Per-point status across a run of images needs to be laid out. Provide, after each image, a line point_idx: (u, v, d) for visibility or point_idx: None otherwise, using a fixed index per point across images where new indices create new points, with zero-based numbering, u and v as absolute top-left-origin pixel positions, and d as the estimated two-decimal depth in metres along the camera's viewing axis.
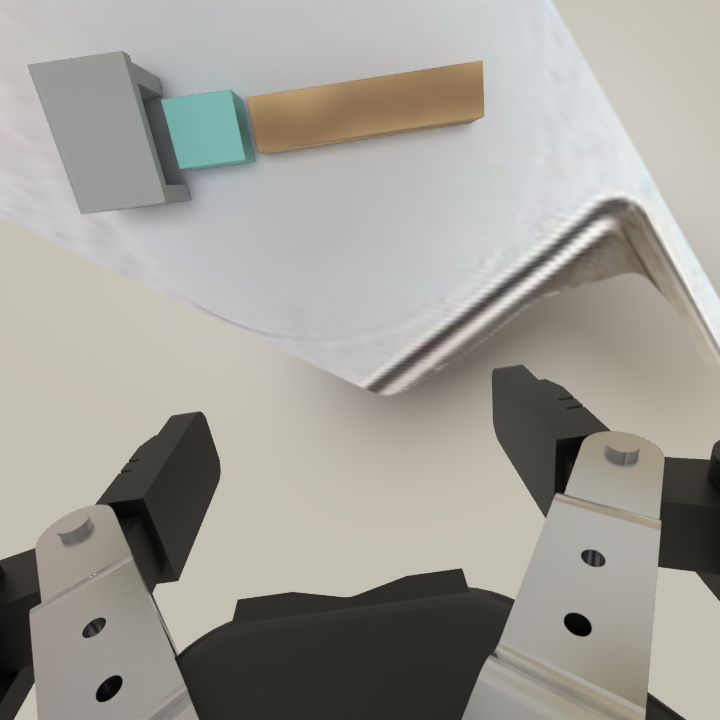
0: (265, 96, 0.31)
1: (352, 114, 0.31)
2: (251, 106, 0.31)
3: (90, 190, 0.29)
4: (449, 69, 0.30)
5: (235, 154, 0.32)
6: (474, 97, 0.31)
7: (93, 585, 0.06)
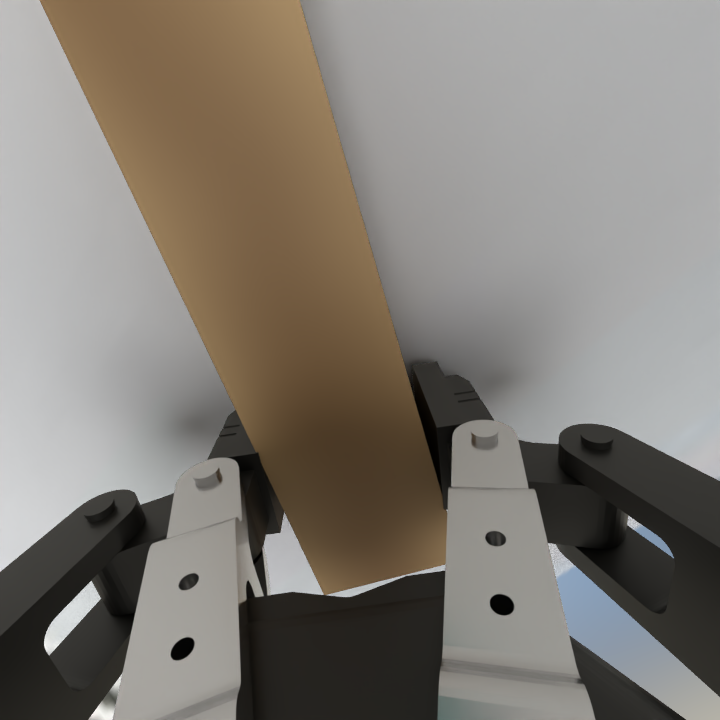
0: None
1: (217, 173, 0.07)
2: None
3: None
4: (429, 487, 0.10)
5: None
6: (366, 562, 0.10)
7: (199, 539, 0.06)
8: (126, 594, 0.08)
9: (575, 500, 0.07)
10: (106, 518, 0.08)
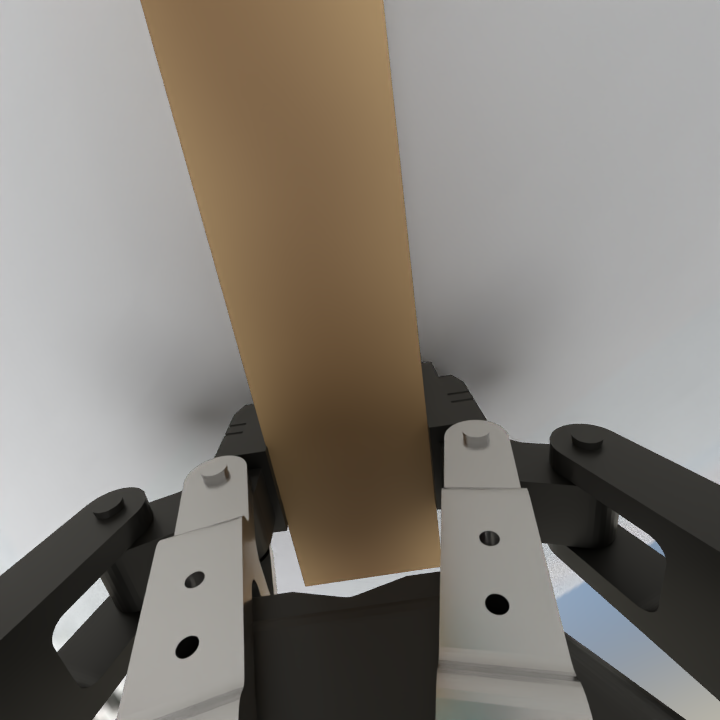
0: None
1: (275, 162, 0.07)
2: None
3: None
4: (425, 492, 0.10)
5: None
6: (351, 558, 0.11)
7: (206, 537, 0.06)
8: (134, 591, 0.08)
9: (565, 500, 0.08)
10: (115, 516, 0.08)
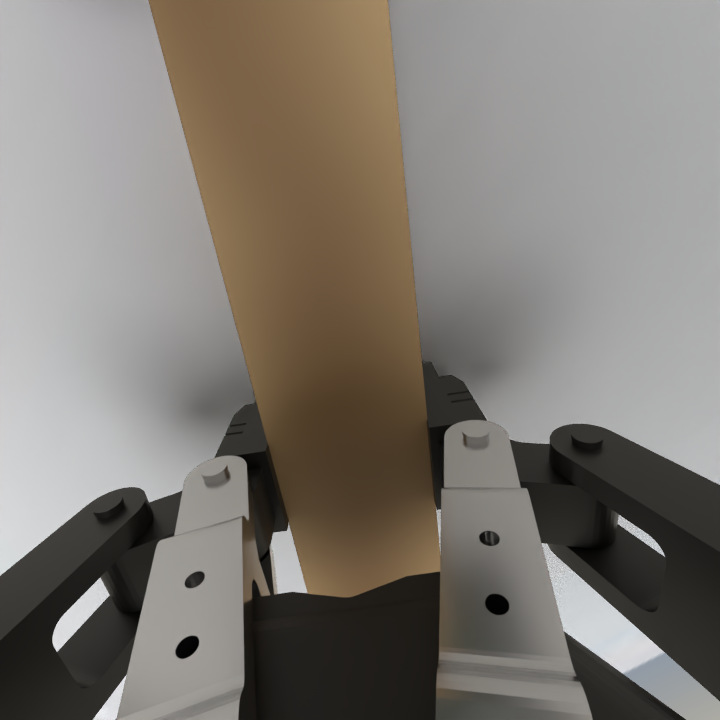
0: None
1: (290, 212, 0.07)
2: None
3: None
4: (427, 516, 0.10)
5: None
6: (356, 578, 0.11)
7: (206, 537, 0.06)
8: (134, 592, 0.08)
9: (565, 500, 0.08)
10: (115, 515, 0.08)
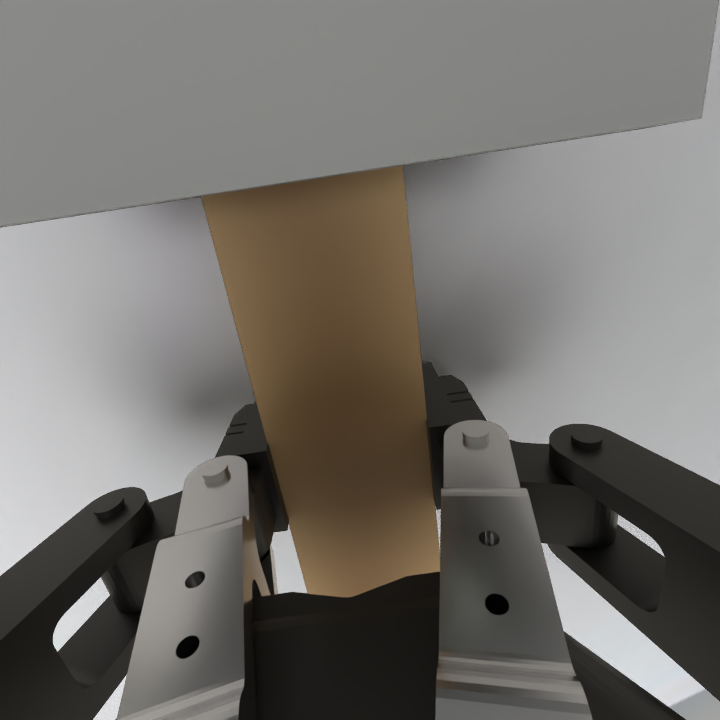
0: None
1: (296, 242, 0.08)
2: None
3: None
4: (428, 532, 0.10)
5: None
6: (358, 592, 0.11)
7: (206, 537, 0.06)
8: (134, 591, 0.08)
9: (565, 500, 0.08)
10: (116, 515, 0.08)
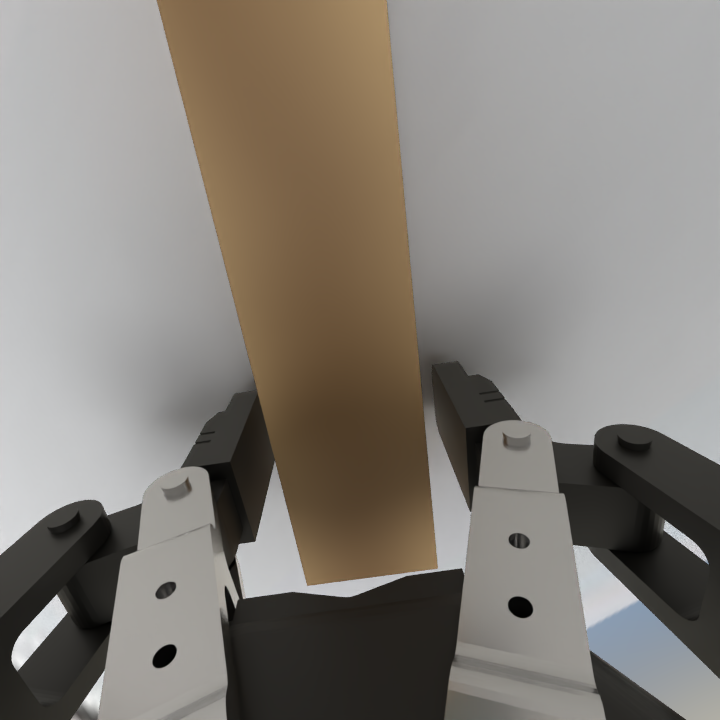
0: None
1: (288, 192, 0.08)
2: None
3: None
4: (422, 498, 0.10)
5: None
6: (351, 559, 0.11)
7: (174, 547, 0.06)
8: (95, 605, 0.08)
9: (612, 503, 0.07)
10: (70, 529, 0.07)
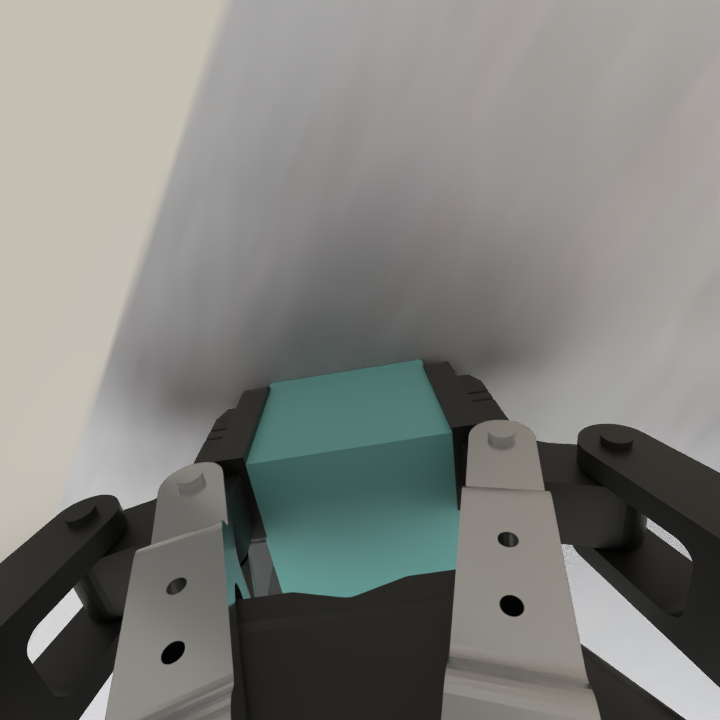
0: None
1: None
2: None
3: None
4: None
5: None
6: None
7: (186, 543, 0.06)
8: (110, 600, 0.08)
9: (595, 501, 0.07)
10: (87, 524, 0.07)
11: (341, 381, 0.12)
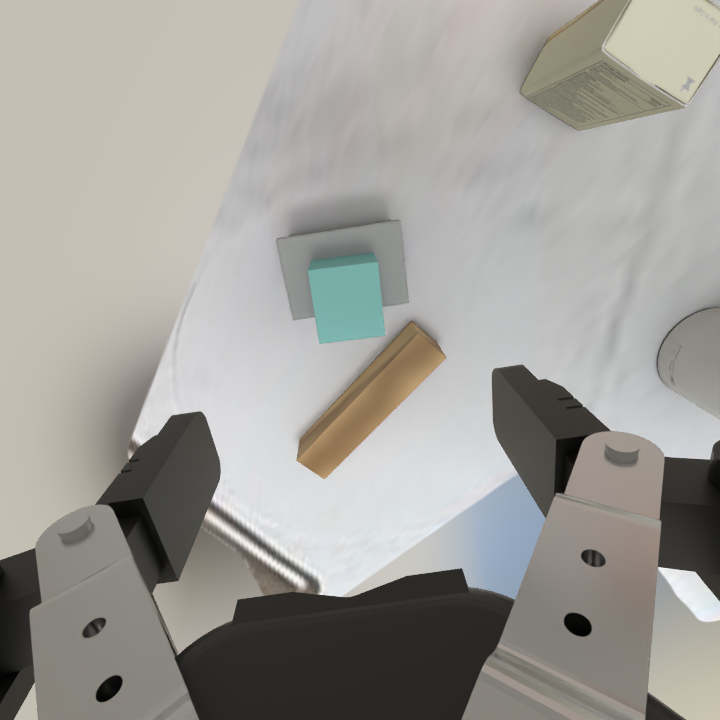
0: (434, 367, 0.38)
1: (374, 401, 0.39)
2: (440, 355, 0.38)
3: (298, 253, 0.31)
4: (338, 462, 0.42)
5: (324, 334, 0.29)
6: (311, 462, 0.42)
7: (93, 585, 0.06)
8: None
9: None
10: None
11: (341, 258, 0.30)
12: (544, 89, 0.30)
